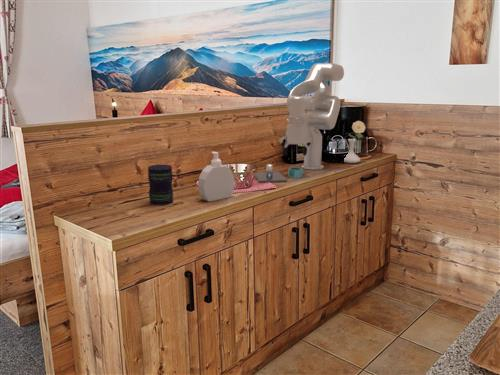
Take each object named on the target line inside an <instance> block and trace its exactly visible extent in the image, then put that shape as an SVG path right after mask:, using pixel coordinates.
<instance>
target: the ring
mask: <svg viewBox="0 0 500 375" xmlns="http://www.w3.org/2000/svg"><path fill="white" fill-rule="evenodd" d="M287 168H288V167H287ZM303 173H304V169H303V168H302V167H295V166H294V167H289V168H288V169H287V176H288V178H293V179H300V178H303V176H304V174H303Z"/></svg>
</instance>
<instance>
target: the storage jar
mask: <svg viewBox="0 0 500 375" xmlns="http://www.w3.org/2000/svg"><path fill="white" fill-rule="evenodd" d="M147 177H148V178H147V180H148V182H149V183H148V184H149V189H148V197H149V204H150V205H153V206H167V205H171V204H173V203H174V190H173V166H172V165H169V164H154V165H152V164H151V165H149V166H148V167H147Z"/></svg>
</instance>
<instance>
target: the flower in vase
mask: <svg viewBox="0 0 500 375" xmlns="http://www.w3.org/2000/svg"><path fill="white" fill-rule="evenodd" d="M351 129H352V131H353V132H354V133H356V134H355V136H354V135H352V134H350V133H348V136H349V137H350V138H348V139H347V141H348V144H349V151H348V152H347V153H348V154H347V153H346V154H347V155H346V154H345V155H346V157H345V158H344V163H349V164H357V163H360V162H361V158H360V156H358V155H357V154H356V152H355V151H354V150H355V149H354V147H355V142H357V139H355V138H356V137H357V138H358V139H361V138H364V135H363V134H362V133H364V132H365V130H366V129H367V128H366V124H365V123H364V122H363V121H361V120H356V121H355V122H353V123H352V126H351ZM351 137H352V138H351Z"/></svg>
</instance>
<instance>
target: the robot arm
mask: <svg viewBox="0 0 500 375" xmlns="http://www.w3.org/2000/svg"><path fill="white" fill-rule="evenodd" d="M344 70H345V69H344V67H343V66H342V65H341V64H338V63H332V62H316V63H314V64H312V66H311V67H310V70H309V71H308V72H307V75H306V77H305V79H304V81H302V82H299V84H297V85H296V86H294V87H293V88H292V89H291V91H290V93H289V94H288V96H287V99H286V108H287V109H288V110H289V114H288V119H287V118H286V121H285V122H286V123H288V124H287V126H286V132H285V135H284V136H282V137H280V138H279V139H278V141H279V143H280V145H281V146H282V147H283V154H284V156H286V157H287V156H288V153H289V152H288V146H290V145H303V147H302V148H303V149H302V155H303V156H304V157H303V158H304V160H303V164H301V166H300V168H302V169H303V170H312V171H313V170H314V171H316V170H317V171H319V170H323V169H324V165H323V164H322V152H323V149H322V148H323V134H322V132H321V131H320V130H329V131H330V130H332V129H334V128H335V126H336V123H337V119H338V116H339V114H340V113H339V112H340V109H341V100H340V98H339V97H338V96H336V95H331V93H332V90H331V88H330V86H329V84H328V83H327V82H329V81H330V82H338V81H339V82H340V81H342V79H343V78H344V75H345V71H344ZM312 93H314V95H313V97H312V96H310V95H309V94H312ZM305 112H306V113H305ZM284 140H285V142H283V141H284Z"/></svg>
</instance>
